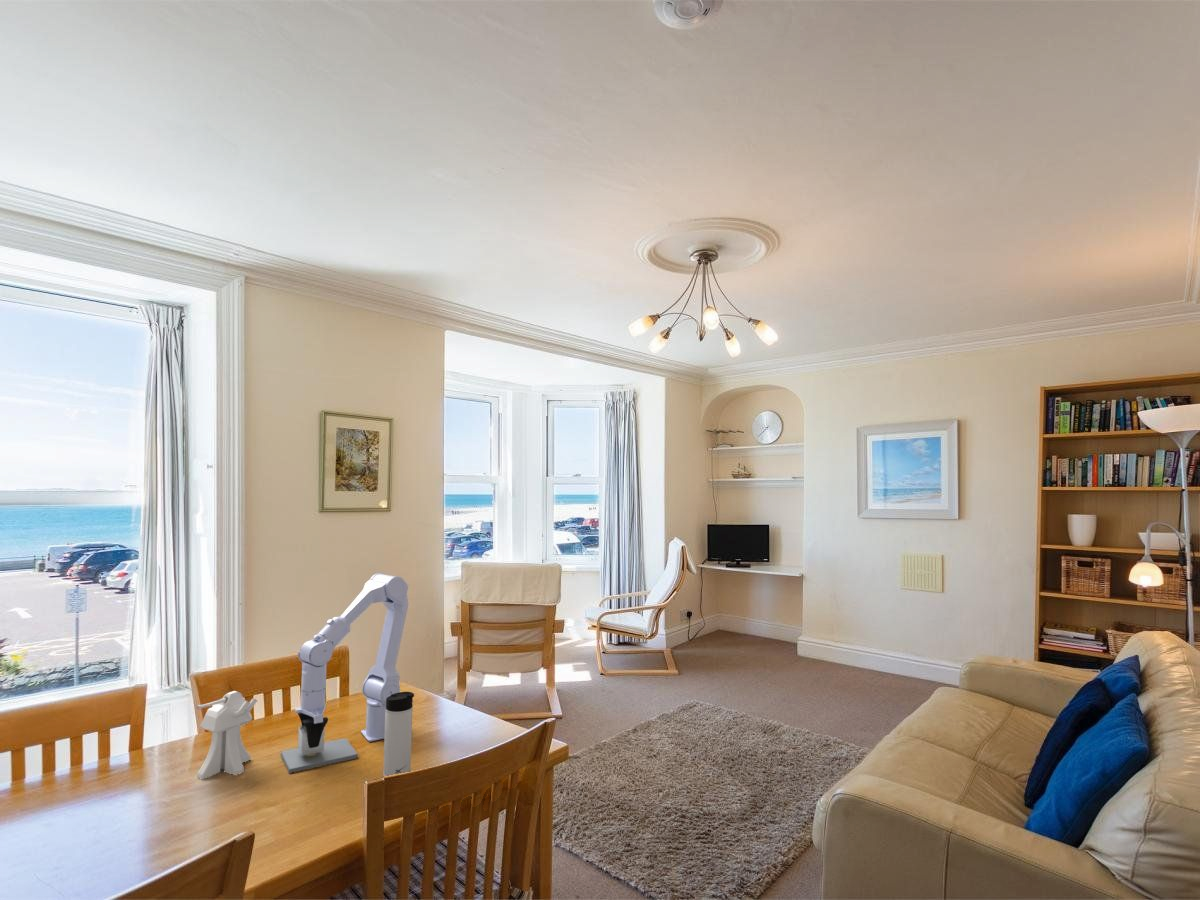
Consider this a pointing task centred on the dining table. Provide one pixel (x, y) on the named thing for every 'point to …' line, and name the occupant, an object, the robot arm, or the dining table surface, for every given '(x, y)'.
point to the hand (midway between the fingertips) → (311, 742)
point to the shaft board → (319, 756)
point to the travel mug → (398, 733)
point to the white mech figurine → (226, 734)
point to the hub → (303, 742)
